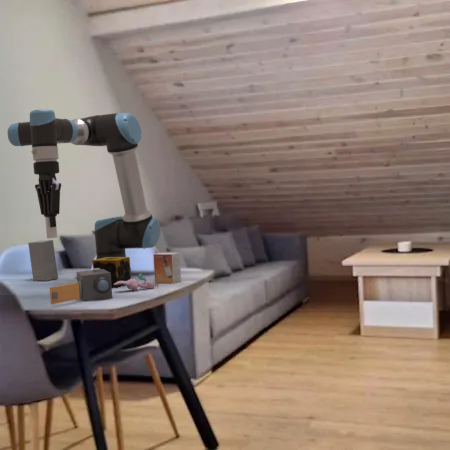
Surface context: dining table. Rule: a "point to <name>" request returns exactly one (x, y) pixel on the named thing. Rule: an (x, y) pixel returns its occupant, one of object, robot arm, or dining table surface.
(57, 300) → the side door
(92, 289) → the camera body
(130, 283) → the pink creature figurine
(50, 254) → the skincare box
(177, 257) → the small box
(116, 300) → the dining table surface
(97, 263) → the candle
